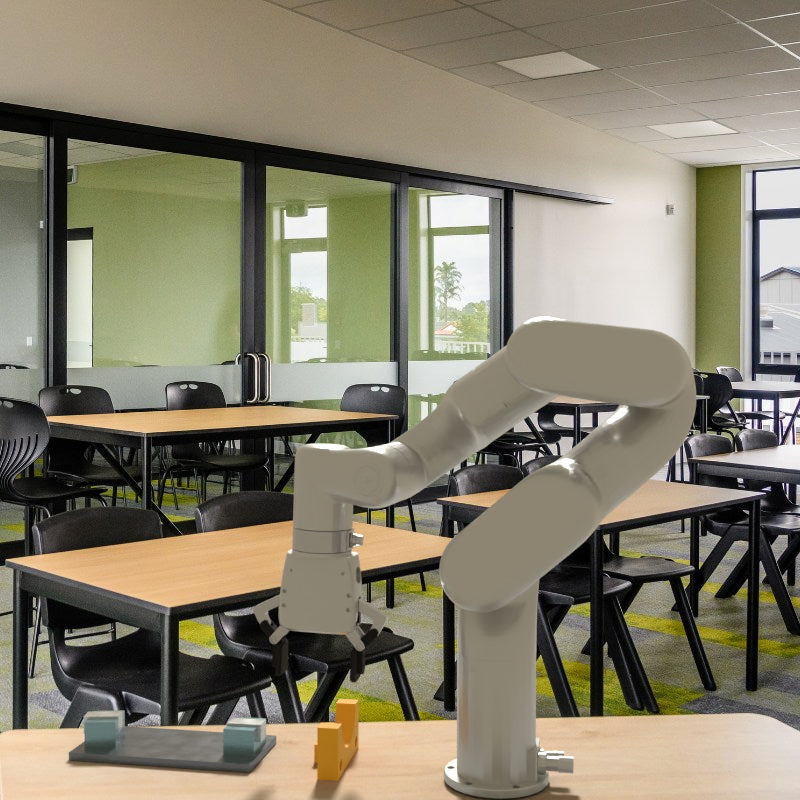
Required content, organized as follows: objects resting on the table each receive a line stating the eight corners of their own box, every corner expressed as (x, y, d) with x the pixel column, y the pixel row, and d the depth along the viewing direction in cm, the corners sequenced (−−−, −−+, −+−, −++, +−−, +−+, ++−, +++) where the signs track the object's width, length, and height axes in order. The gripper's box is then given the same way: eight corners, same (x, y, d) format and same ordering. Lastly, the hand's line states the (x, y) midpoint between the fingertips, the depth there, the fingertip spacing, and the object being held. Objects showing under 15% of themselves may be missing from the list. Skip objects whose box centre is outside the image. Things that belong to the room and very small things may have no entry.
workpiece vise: (276, 743, 143) (276, 709, 143) (249, 772, 132) (249, 736, 132) (106, 732, 147) (106, 699, 147) (67, 760, 137) (67, 724, 137)
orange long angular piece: (326, 746, 142) (326, 698, 142) (358, 748, 142) (358, 699, 141) (303, 779, 130) (303, 726, 130) (338, 782, 130) (338, 728, 130)
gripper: (395, 541, 138) (390, 673, 138) (265, 533, 141) (261, 663, 142) (383, 550, 131) (379, 690, 131) (247, 542, 134) (243, 678, 134)
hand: (318, 676), depth 136 cm, fingers open, 9 cm apart
